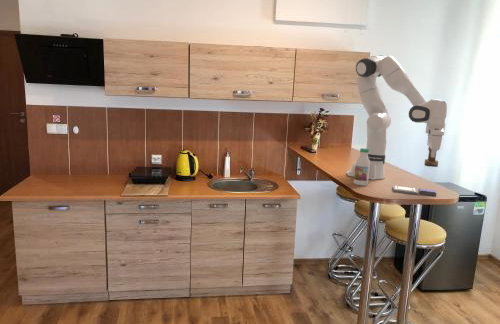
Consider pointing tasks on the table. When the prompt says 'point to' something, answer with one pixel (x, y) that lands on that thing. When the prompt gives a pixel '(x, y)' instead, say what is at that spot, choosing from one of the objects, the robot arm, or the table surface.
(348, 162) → the table surface
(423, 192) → the ink pad
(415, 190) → the board
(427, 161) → the stamp
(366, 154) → the milk bottle
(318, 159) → the table surface
